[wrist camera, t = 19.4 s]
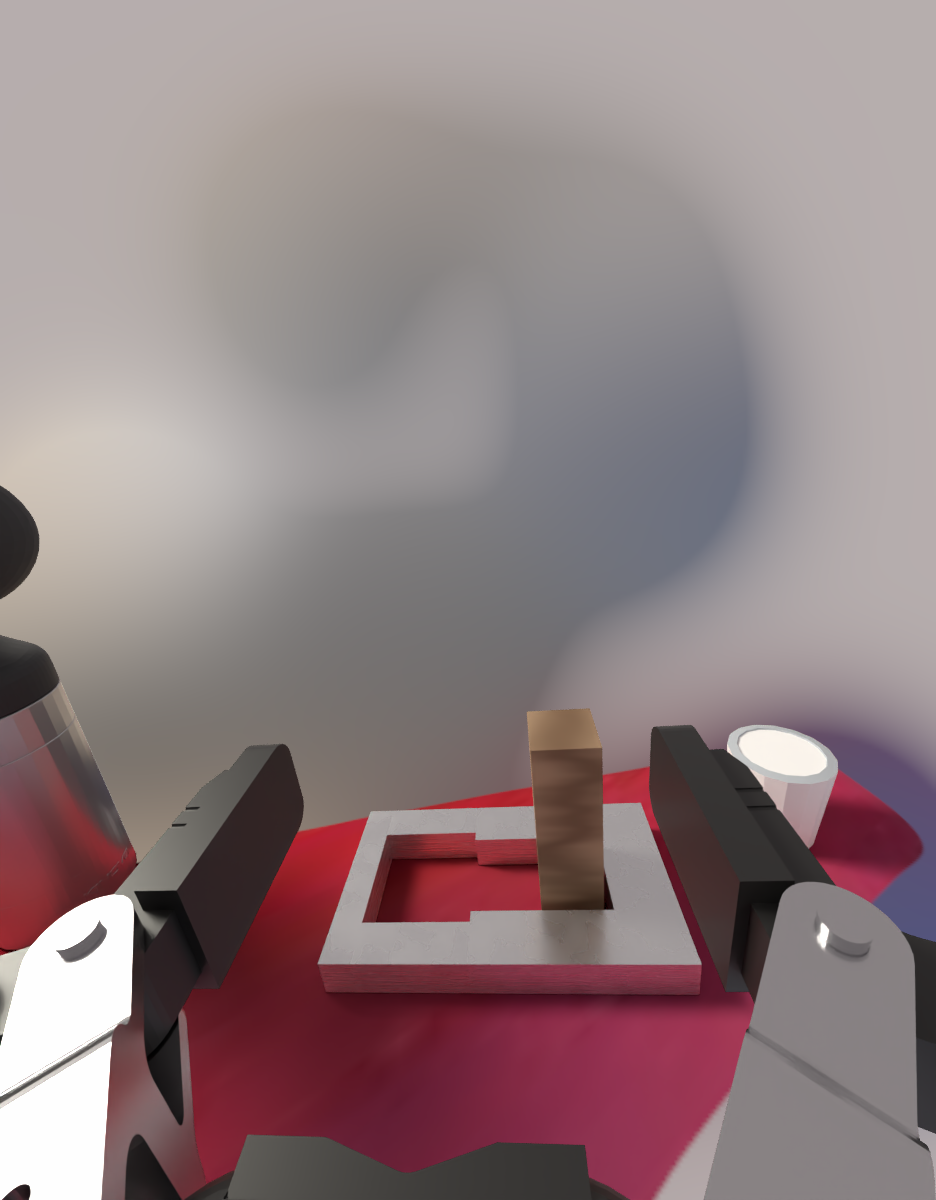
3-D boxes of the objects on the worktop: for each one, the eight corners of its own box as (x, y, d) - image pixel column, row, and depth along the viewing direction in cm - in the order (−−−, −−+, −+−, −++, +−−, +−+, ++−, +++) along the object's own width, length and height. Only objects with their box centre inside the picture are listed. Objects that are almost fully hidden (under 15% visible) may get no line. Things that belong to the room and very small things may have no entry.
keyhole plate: (326, 992, 29) (317, 964, 28) (375, 834, 40) (370, 811, 39) (699, 994, 26) (701, 964, 26) (639, 827, 38) (640, 802, 37)
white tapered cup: (706, 795, 40) (711, 726, 38) (788, 790, 40) (799, 720, 37) (748, 864, 34) (757, 785, 31) (847, 859, 33) (864, 779, 31)
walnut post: (543, 926, 31) (530, 750, 26) (538, 873, 35) (526, 711, 30) (604, 926, 31) (602, 747, 26) (593, 872, 34) (589, 708, 30)
